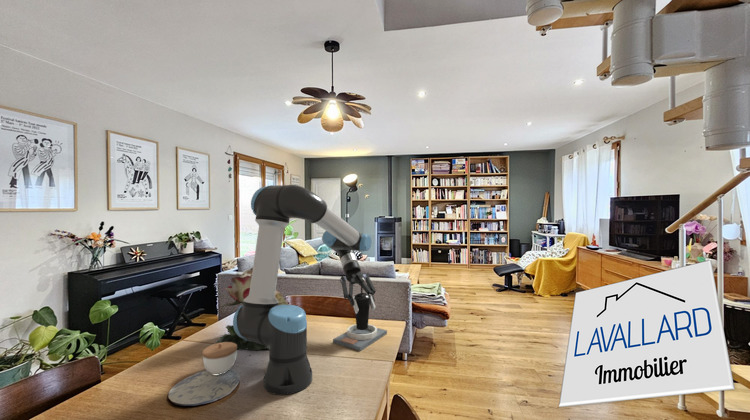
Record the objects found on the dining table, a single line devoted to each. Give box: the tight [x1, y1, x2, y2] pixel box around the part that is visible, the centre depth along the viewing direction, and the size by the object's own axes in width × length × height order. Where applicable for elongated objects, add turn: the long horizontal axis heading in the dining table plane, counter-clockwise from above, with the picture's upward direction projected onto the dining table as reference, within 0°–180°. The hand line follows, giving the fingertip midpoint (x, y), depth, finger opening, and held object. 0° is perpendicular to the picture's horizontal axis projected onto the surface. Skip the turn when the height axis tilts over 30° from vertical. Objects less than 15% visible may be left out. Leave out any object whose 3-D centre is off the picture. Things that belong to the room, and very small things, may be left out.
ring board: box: [332, 323, 388, 352], centre depth 137 cm, size 20×14×4 cm
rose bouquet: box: [215, 267, 290, 351], centre depth 138 cm, size 26×29×30 cm
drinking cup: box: [353, 281, 371, 330], centre depth 138 cm, size 8×8×20 cm
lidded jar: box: [201, 342, 238, 375], centre depth 110 cm, size 11×11×9 cm
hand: (365, 310), depth 135 cm, fingers closed on drinking cup, 7 cm apart
